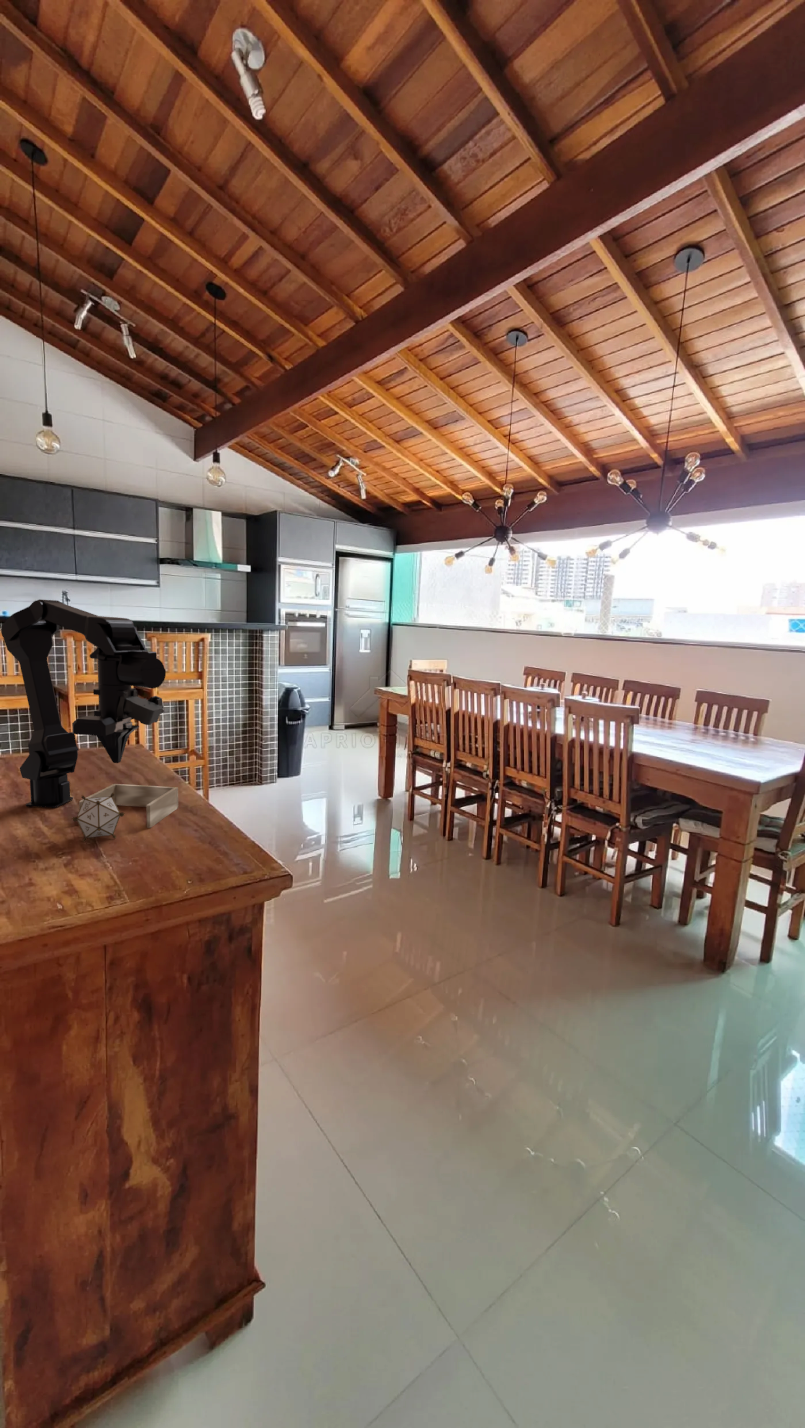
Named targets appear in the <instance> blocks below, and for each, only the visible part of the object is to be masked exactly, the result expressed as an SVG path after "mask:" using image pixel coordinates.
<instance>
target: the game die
mask: <svg viewBox="0 0 805 1428" xmlns="http://www.w3.org/2000/svg"><path fill="white" fill-rule="evenodd" d="M113 796H114V792H113V793H112V794H111V796H108V797H97V798H87V797H86V796H85V795H83V794H81V798H82V799H81V800H83V799H84V800H83V803H82V805H81V808H80V810H79V809H78V813H77V815H76V816H73V817H72V818H71V820H72V821H73V822H77V825H78V826H79V828H80V830H81V832H82V834H83V836H84V838H83V839H82V843H85V842H86V841H87V839H90V838H91V839H92V838H100V837H108V836H112V838H113V839H117V836H116V834H114V833H115V831H116V829H117V826H118V823H119V820H120V818H121V817H124V816H125V814H126V813H125V812H121V811H120V809H119V807H118V805H116V804H115V802H114V800H113V798H112V797H113Z"/></svg>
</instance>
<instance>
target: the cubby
mask: <svg viewBox="0 0 805 1428" xmlns="http://www.w3.org/2000/svg"><path fill="white" fill-rule="evenodd" d="M113 792H114V796H113V797H112V798H113V800H114V802H115V804H116V806H127V807H144V808H146V809H145V810H146V812H145V813H146V828H148V829H151V828H152V827H154V826H155V825H156V824H158V823H159V822H161V821H162V820H163V819H165V818H166V817H168V816H169V815H170V814H172V813H173V812H174V811H176V810H177V809H179V787H178V786H177V787H175V786H174V787H173V786H157V785H140V784H139V785H138V784H123V783H121V784H120V783H113V784H110V785H108V786H107V787H105V788H103V789H101V790H99V791H96V792H95V793H93V794H90V795H89V796H86V798H97V797H108V796H111V794H112V793H113ZM83 800H84V799H81V800H79V801H78V811H79V810H80V808H81V805H82V803H83Z"/></svg>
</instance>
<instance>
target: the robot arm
mask: <svg viewBox="0 0 805 1428" xmlns="http://www.w3.org/2000/svg"><path fill="white" fill-rule="evenodd" d="M60 627H63V628H65V629H68V630H70V631H73V632H76V633H79V634H81V635H83V636H84V637H85V640H86V641H87V642H88V643H90V644H92V645H93V646H95V647H96V648H95V650H93V652H91V653H90V654H89V659H91V660H92V659H94V660H97V681H98V682H97V686H98V687H97V688H94V689H93V690H92V691H93V695H94V696H98V709H96V710H94V711H93V715H86V716H81V717H79V718H76V719H75V720H74V721H73V722H72V724H71V726H72V731H71V732H70V731H67V730H66V729H65V728H64V727H63V725H62V722H61V718H60V712H59V708H58V702H57V699H56V695H55V690H54V683H53V681H52V676H51V670H50V666H49V662H48V657H49V654H50V652H51V650H52V648H53V647H54V646H53V645H54V644H53V642H54V641H53V636H54V635H55V634H57V633H58V632H59V631H60ZM0 631H1V636H2V638H3V640H4V641H3V642H4V645H5V648H6V649H7V651H8V652H9V653H10V654H11V655H12V656H13V657H14V659H16V660H17V662H18V663H19V666H20V671H21V676H22V680H23V685H24V690H25V695H26V698H27V704H28V708H29V712H30V713H29V714H30V717H31V721H32V725H33V726H32V727H33V732H32V735H31V737H30V740H29V741H28V745H27V746H28V747H27V748H28V756H27V758H26V759H25V760H24V761H23V763H22V764H21V766H19V771H20V775H21V778H23V779H26V780H29V788H30V789H29V790H30V791H29V792H30V801H29V802H26V803H25V807H28V808H29V807H34V808H45V809H46V808H48V809H49V808H50V809H55V808H58V807H61V806H62V805H65V804H66V803H69V802H70V801H73V800H74V797H73V796H71V785H70V784H71V783H70V781H69V780H68V774H70V773H71V774H72V773H74V772H75V770H76V765H77V760H78V759H79V758H78V757H79V756H78V755H79V752H78V751H79V750H80V749H79V748H78V745H77V739H76V735H83V736H96V737H97V738H98V740H99V741H100V743H101V746H103V748H104V750H105V751H106V753H107V755H108V756H109V759H110V760H111V761H112V763H113V764H119V763H121V762H122V758H123V755H124V752H125V749H126V745H127V742H128V739H129V737H130V736H131V734H132V733H133V732H134V731H136V730H137V729H139V728H140V725H137V724H135V725H134V724H133V721H132V720H136V721H137V722H139V723H140V724H142V725H146V726H149V725H152V724H154V723H158V721H159V718H160V715H161V714H164V713H165V709H164V707H165V706H164V704H163V698H162V697H159V696H157V695H154V696H151V697H150V698H148V699H147V697H146V698H142V697H140V696H138V689H136V687H139V688H147V689H153V690H154V689H157V688H159V687H160V686H161V685H163V683H164V681H165V680H166V674H167V671H166V668H165V666H164V663H163V662H162V661H161V659H158V657H157V656H158V653H157V652H156V651H149V650H148V649H147V647H146V644H145V643H144V641H143V640H142V638H141V636H140V634H139V632H138V631H137V628H136V627H135V624H134V622H133V620H132V619H129V618H126V617H118V616H117V617H115V616H103V615H97V614H95V613H91V612H89V611H85V610H82V609H80V608H76V607H74V606H71V605H69V604H65V603H64V602H62V601H59V600H56V599H55V600H54V599H52V600H51V599H37V600H34V601H32V602H31V604H30V605H28V606H27V607H25V608H23V609H20V610H18V611H17V612H14V613H12V614H11V615H10V616H9V618H6V620H5V621H4V623H2V625H1V628H0ZM134 687H135V688H134Z"/></svg>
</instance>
